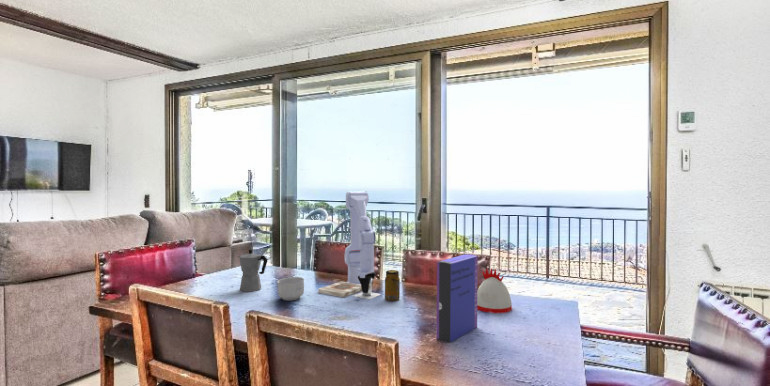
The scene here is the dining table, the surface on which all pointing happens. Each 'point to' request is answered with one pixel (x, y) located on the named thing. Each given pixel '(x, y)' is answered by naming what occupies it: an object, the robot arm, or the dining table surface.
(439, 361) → the dining table surface
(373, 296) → the tab
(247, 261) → the coffeepot
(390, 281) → the condiment
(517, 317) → the dining table surface
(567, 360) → the dining table surface
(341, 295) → the hole plate
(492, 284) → the beige rounded dome
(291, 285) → the teacup
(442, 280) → the blue book
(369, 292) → the knob
